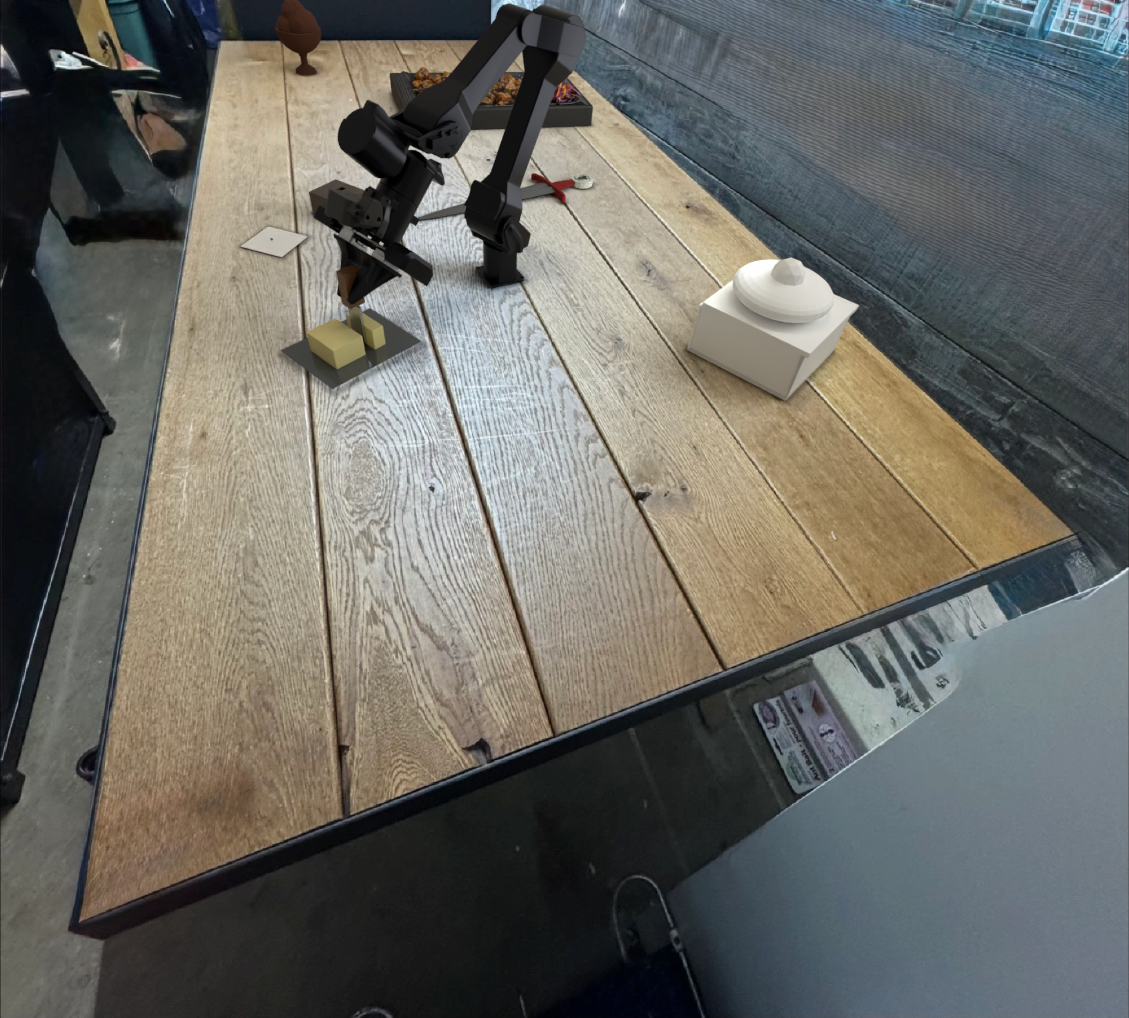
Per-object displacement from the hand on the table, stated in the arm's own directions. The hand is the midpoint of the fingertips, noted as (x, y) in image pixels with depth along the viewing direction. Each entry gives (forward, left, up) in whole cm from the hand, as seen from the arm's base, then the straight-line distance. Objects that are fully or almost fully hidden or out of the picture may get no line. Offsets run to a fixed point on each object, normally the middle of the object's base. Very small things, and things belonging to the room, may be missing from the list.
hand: (344, 299), depth 90 cm
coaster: (+35, +3, -8) cm, 36 cm away
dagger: (+35, -43, -8) cm, 56 cm away
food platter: (+81, -61, -8) cm, 102 cm away
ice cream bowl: (+118, -26, -8) cm, 122 cm away
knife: (0, -1, -7) cm, 7 cm away
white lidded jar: (-26, -58, -8) cm, 64 cm away
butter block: (-1, +3, -7) cm, 8 cm away
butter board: (0, 0, -8) cm, 8 cm away
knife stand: (+42, -11, -8) cm, 44 cm away
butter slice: (+1, -2, -7) cm, 8 cm away
